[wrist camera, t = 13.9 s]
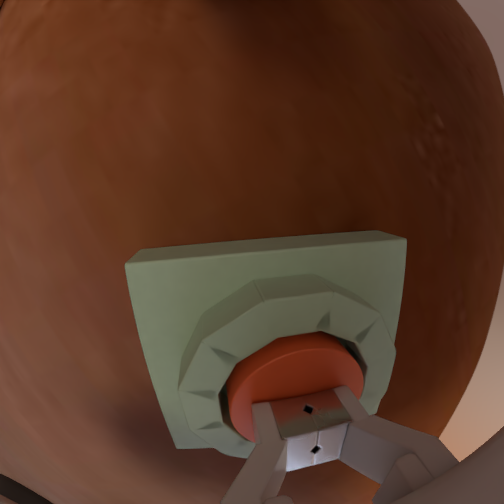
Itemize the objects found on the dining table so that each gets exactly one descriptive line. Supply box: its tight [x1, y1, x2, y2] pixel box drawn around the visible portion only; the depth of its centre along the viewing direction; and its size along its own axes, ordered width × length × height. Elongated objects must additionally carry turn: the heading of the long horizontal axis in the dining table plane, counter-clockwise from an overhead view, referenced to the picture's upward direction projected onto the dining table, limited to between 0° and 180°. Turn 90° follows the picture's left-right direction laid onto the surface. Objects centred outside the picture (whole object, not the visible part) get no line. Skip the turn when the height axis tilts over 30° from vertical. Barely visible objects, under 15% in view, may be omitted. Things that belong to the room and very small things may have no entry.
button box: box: [125, 230, 407, 459], centre depth 10 cm, size 10×9×4 cm
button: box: [226, 331, 363, 443], centre depth 8 cm, size 4×4×2 cm
